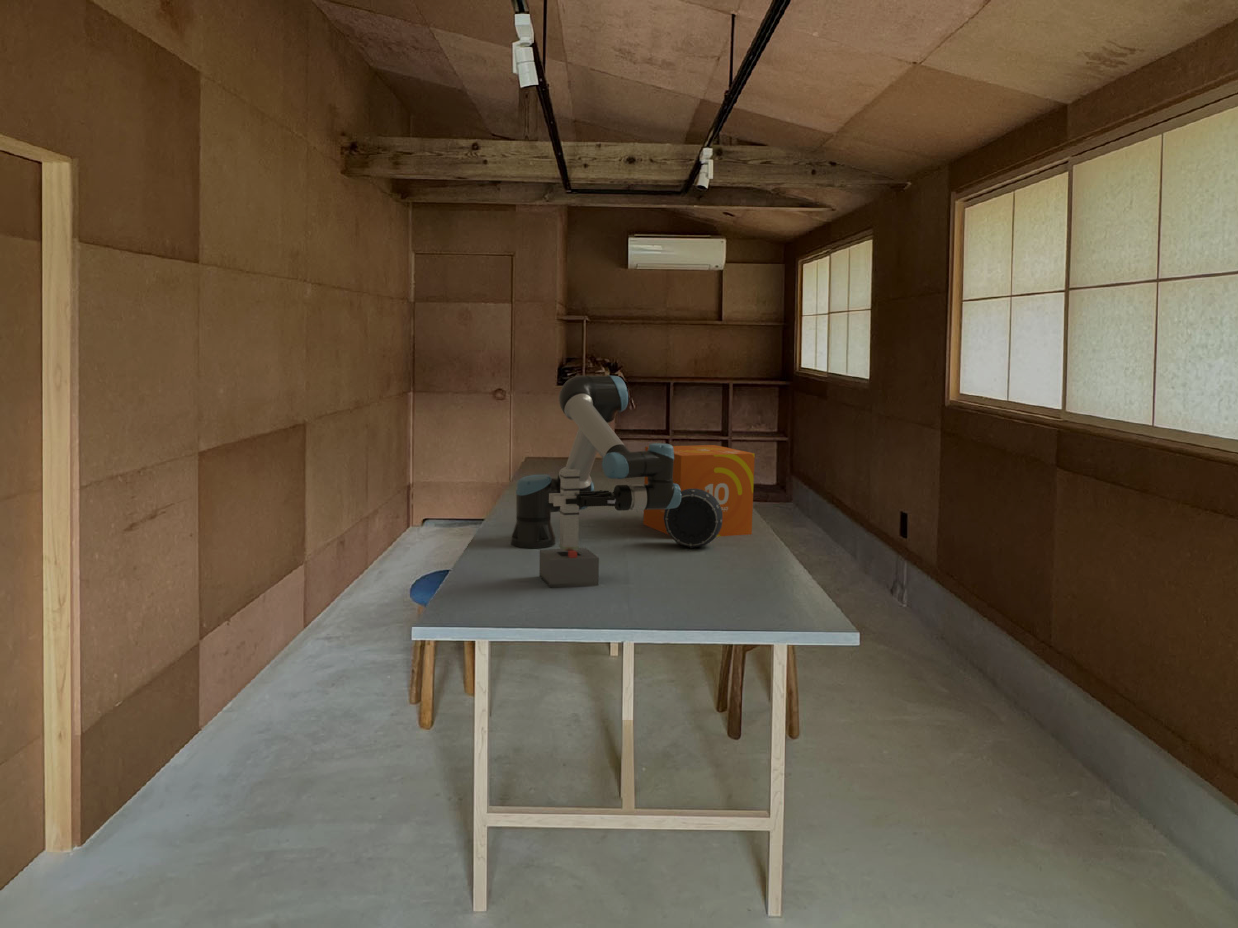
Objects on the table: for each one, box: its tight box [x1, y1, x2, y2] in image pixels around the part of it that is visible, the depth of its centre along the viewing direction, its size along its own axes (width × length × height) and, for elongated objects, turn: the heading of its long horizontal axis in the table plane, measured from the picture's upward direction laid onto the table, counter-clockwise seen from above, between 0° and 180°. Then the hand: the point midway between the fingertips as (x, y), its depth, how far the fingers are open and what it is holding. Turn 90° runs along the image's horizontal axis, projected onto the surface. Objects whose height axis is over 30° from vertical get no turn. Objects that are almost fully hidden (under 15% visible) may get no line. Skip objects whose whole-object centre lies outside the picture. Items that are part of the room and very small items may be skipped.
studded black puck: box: [663, 489, 723, 549], centre depth 332 cm, size 11×20×20 cm, turn 78°
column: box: [558, 468, 580, 551], centre depth 279 cm, size 5×5×23 cm
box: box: [642, 444, 756, 538], centre depth 363 cm, size 30×30×30 cm
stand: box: [538, 547, 600, 589], centre depth 281 cm, size 14×14×10 cm
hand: (551, 499), depth 277 cm, fingers closed on column, 5 cm apart
